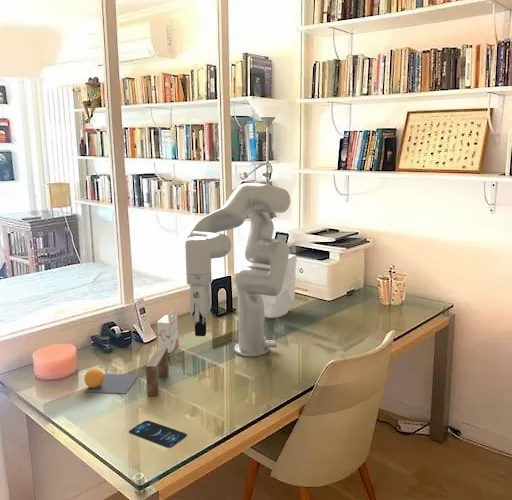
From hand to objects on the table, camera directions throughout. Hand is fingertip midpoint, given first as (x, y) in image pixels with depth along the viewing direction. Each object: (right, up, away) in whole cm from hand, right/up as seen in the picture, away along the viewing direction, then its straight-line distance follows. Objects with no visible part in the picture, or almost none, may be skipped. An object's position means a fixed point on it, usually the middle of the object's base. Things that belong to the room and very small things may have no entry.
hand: (200, 335), depth 167 cm
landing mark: (-29, -16, +6) cm, 34 cm away
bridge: (-14, -17, +5) cm, 22 cm away
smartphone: (-9, -23, -23) cm, 34 cm away
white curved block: (+23, -1, +78) cm, 82 cm away
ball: (-34, -14, +3) cm, 37 cm away
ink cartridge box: (-16, -11, +34) cm, 39 cm away
